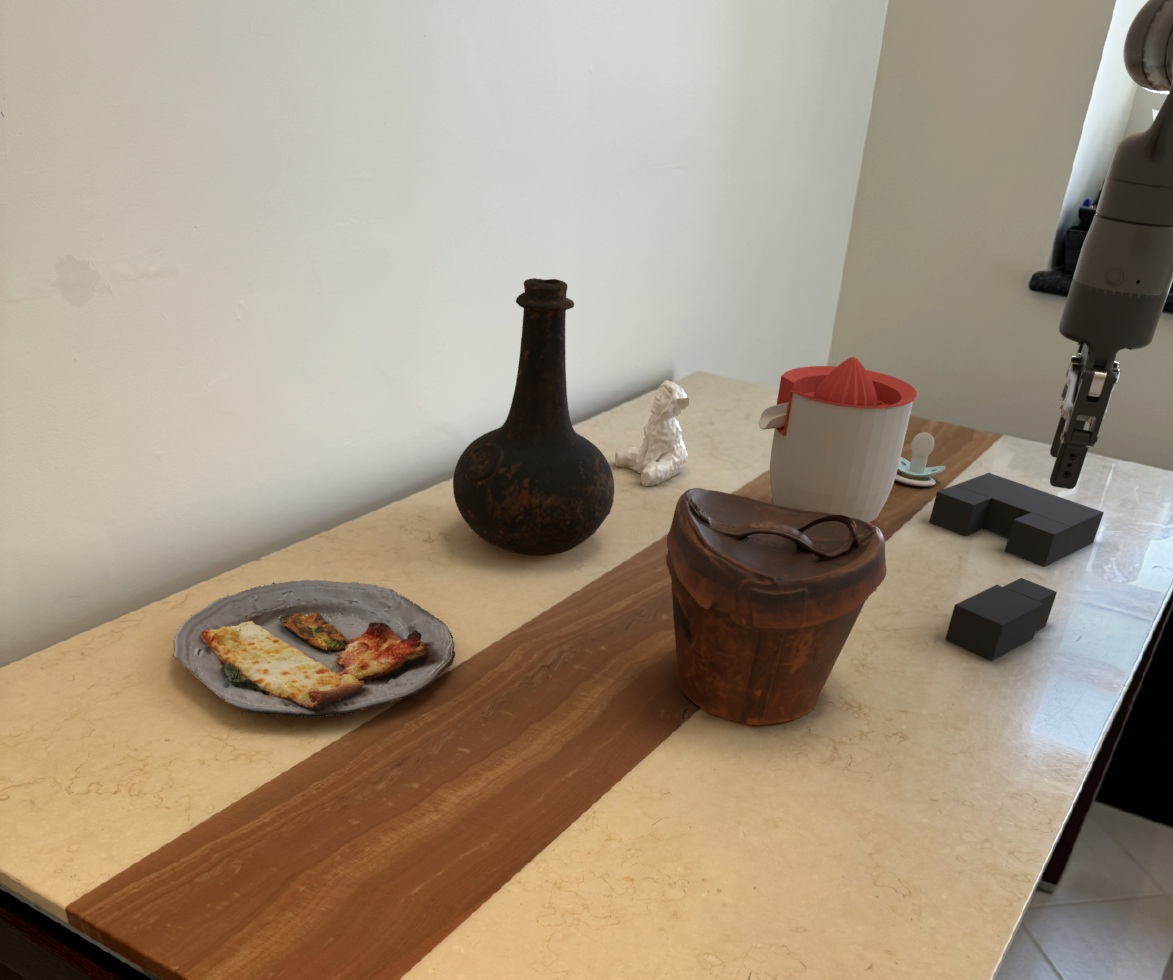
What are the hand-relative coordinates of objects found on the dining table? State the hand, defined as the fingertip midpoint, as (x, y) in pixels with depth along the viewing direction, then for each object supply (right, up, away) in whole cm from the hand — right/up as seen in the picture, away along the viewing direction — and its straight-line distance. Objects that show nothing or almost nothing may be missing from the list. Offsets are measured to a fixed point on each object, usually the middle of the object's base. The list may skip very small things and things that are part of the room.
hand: (1061, 471), depth 100 cm
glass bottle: (-49, 0, +27) cm, 56 cm away
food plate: (-68, -17, +2) cm, 70 cm away
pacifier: (+2, +13, +51) cm, 53 cm away
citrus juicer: (-15, +3, +36) cm, 39 cm away
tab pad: (0, -13, +15) cm, 19 cm away
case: (-28, -20, +2) cm, 34 cm away
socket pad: (+10, +3, +37) cm, 39 cm away
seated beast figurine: (-34, +13, +48) cm, 60 cm away
